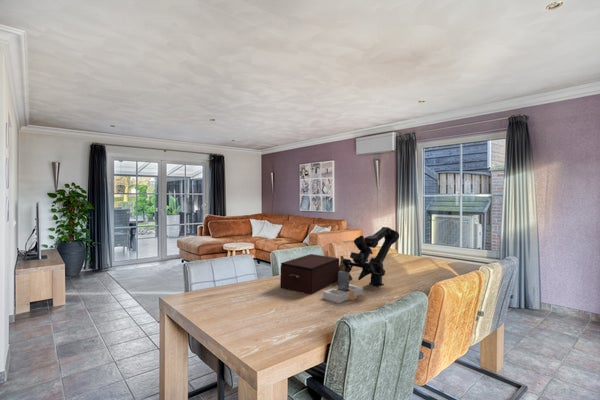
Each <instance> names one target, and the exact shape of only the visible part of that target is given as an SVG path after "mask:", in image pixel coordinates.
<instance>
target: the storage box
mask: <svg viewBox="0 0 600 400" xmlns="http://www.w3.org/2000/svg"><path fill="white" fill-rule="evenodd" d="M339 266H340V258H339V257H333V256H327V255H319V254H315V253H310V254H306V255H303V256H299V257H296V258H294V259H290V260H287V261H284V262H283V261H282V262H280V280H279V281H280V282H279V283H280V289H283V290H286V291H287V290H288V291H292V292H297V293H301V294H307V295H311V296H312V295H313V294H315V293H317V292H320V291H323V289H325V288H327V287H330V286H333V284H336V283H338V282H337V280H338V272H339V270H338V268H339Z"/></svg>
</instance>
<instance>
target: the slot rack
mask: <svg viewBox="0 0 600 400" xmlns="http://www.w3.org/2000/svg"><path fill="white" fill-rule="evenodd" d="M363 294H364V287H361V286H358V285H355V284H354V285H353V284H350V283H349V291H347V292H344V291H341V290H338V286H337V287H333V288H330V289H327V290H322V299H324V300H327V301H330V302H333V303H337V304H340V303H342V302H346V301H354V300H356V299H358V298H357V297H359V296H362V295H363Z"/></svg>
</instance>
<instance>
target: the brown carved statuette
mask: <svg viewBox="0 0 600 400" xmlns="http://www.w3.org/2000/svg"><path fill="white" fill-rule="evenodd" d="M344 259H345V258H344V256H343V255H341V256H340V258H339V268H338V270H339V271H345V265H344V264H343V260H344ZM350 281H353V277H352V275H351V273H350V272H349V282H350ZM336 283H338V280H337V282H336Z"/></svg>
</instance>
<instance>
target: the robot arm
mask: <svg viewBox="0 0 600 400" xmlns="http://www.w3.org/2000/svg"><path fill="white" fill-rule="evenodd" d="M383 238H384V241H383V242H382V244H381V247H379V250H378V252H377V254H376V256H375V257H371V258H370V260H369V257H370V255H373V249H375V248H377V246H379V242H380V241H381V240H382V239H383ZM399 238H400V233H399V232H398V231H396V230H394V229H392V228H390V227H387V226H382V227H381V228H380V229H379V230H378V231H377V232H375V233H374V234H372V235H368V236H366V237H365V236H364V235H359V236H358V237H356V238H355V239H354V240H353V243H354V245H355V247H356V248H357V250H359V253H358V252H353V251H351V252H350V255H349V258H350V259H349V258H344V260H343V264H344V265H345V272H349V273H350V272H351V271H352V268H354V267H356V268H360V269H361V268H362V270H361V272H360V273H359V276H358V278H357V280H358V281H360V280H362V279H364V278H365V277H366V276H368V275H370V282H369V283H368V284H369V285H372V286H375V287H379V286H384V285H385V283H383V276H385V274H386V270H385V269H384V263H383V262H384V260H385V258H386V256H387V254H388V252H389V251H390V249H391V247H392V245H393V244H396V243H397V241H398V240H399ZM372 248H373V249H372ZM351 259H352V260H351Z"/></svg>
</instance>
